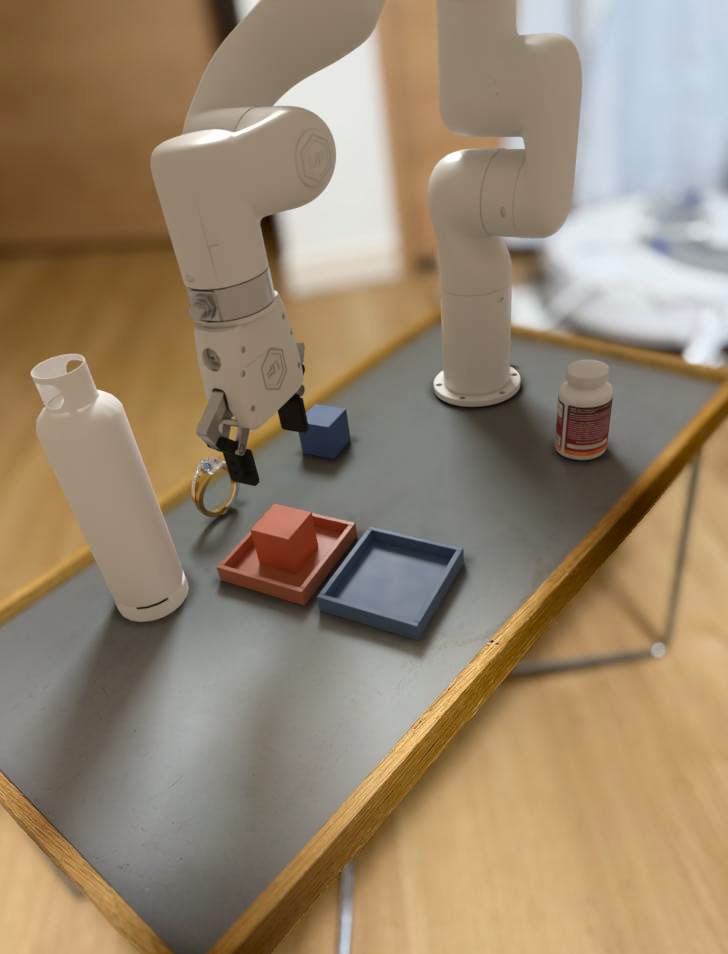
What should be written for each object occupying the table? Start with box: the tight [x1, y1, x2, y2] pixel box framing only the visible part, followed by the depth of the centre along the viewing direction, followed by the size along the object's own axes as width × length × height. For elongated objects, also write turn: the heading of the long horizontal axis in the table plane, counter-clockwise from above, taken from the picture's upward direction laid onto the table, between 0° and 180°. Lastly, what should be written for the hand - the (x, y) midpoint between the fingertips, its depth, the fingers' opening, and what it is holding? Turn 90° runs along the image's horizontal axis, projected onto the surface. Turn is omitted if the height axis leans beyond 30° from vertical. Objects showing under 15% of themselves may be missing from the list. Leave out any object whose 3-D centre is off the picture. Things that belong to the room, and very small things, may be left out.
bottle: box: [30, 353, 190, 623], centre depth 70 cm, size 8×8×28 cm
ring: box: [191, 454, 241, 518], centre depth 86 cm, size 7×3×8 cm, turn 137°
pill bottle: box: [554, 359, 614, 461], centre depth 85 cm, size 6×6×11 cm
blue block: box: [298, 403, 352, 460], centre depth 96 cm, size 5×5×5 cm
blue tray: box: [316, 525, 465, 641], centre depth 74 cm, size 12×11×2 cm
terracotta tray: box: [216, 512, 358, 607], centre depth 80 cm, size 12×11×2 cm
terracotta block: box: [249, 503, 318, 574], centre depth 78 cm, size 5×5×5 cm
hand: (271, 455), depth 73 cm, fingers open, 9 cm apart
